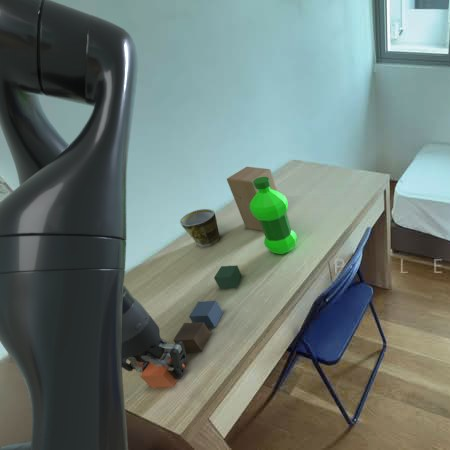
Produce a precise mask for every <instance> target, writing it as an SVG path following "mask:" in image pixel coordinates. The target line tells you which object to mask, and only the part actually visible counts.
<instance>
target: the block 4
mask: <svg viewBox="0 0 450 450" xmlns="http://www.w3.org/2000/svg"><path fill="white" fill-rule="evenodd" d="M213 279H214V281H215V283H216V284H217V287H218V288H219V290H235V289H237V288H238V287H239V285H240V283H241V281H242V279H243V274H242V272H241V271H240V268H239V265H221V266H220V267H219V269H218V270H217V271H216V274H215V275H214V277H213Z"/></svg>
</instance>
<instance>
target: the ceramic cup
mask: <svg viewBox="0 0 450 450" xmlns="http://www.w3.org/2000/svg"><path fill="white" fill-rule="evenodd" d="M179 224H180V225H181V227H182V228H183V229H184V230H185V231H186V232H187V234H189V236H190V237H191V239H193V241H194V242H195V243H196V244H197V245H198V246H200V247H202V248H207V247H212V246H213V245H215V244H216V243H219V240H220V239H221V238H220V237H221V235H220V231H219V227H218V219H217V217H216V213H215V211H214V210H213V209H210V208H201V209H196V210H193V211H191V212H188V213H186V214H185V215H184V216H182V217H181V218H180V220H179Z"/></svg>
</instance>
